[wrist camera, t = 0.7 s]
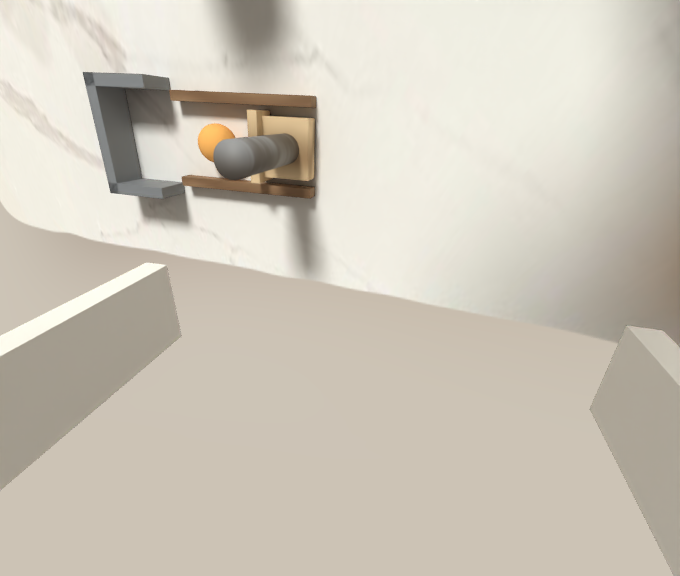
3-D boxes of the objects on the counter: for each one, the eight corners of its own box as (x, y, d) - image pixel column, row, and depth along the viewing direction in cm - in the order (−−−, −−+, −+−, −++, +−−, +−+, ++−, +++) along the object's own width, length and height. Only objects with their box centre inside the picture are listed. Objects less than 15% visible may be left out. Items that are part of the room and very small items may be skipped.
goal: (113, 76, 41) (82, 72, 37) (168, 77, 39) (141, 74, 36) (135, 187, 46) (110, 192, 43) (184, 192, 45) (163, 198, 41)
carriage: (261, 110, 38) (184, 106, 27) (314, 113, 37) (258, 110, 25) (264, 178, 41) (196, 201, 30) (313, 182, 40) (263, 208, 28)
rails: (178, 90, 40) (169, 89, 38) (316, 96, 36) (311, 95, 35) (190, 183, 44) (182, 185, 43) (314, 196, 41) (310, 198, 39)
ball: (209, 122, 40) (187, 122, 37) (241, 124, 39) (222, 125, 36) (213, 159, 42) (192, 163, 38) (244, 162, 41) (226, 166, 38)
